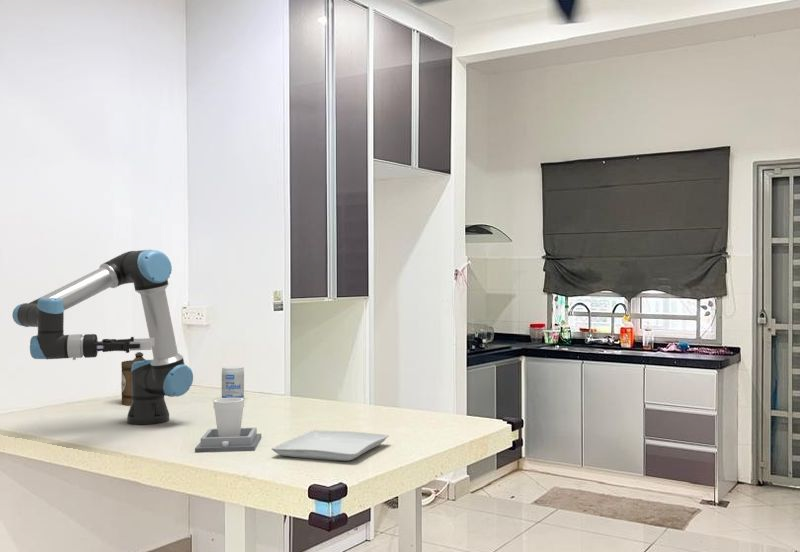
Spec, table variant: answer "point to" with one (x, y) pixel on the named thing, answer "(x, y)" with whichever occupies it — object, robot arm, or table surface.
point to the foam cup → (229, 416)
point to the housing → (229, 441)
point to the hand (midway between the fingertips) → (152, 343)
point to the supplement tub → (233, 382)
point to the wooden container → (128, 378)
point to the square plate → (330, 445)
